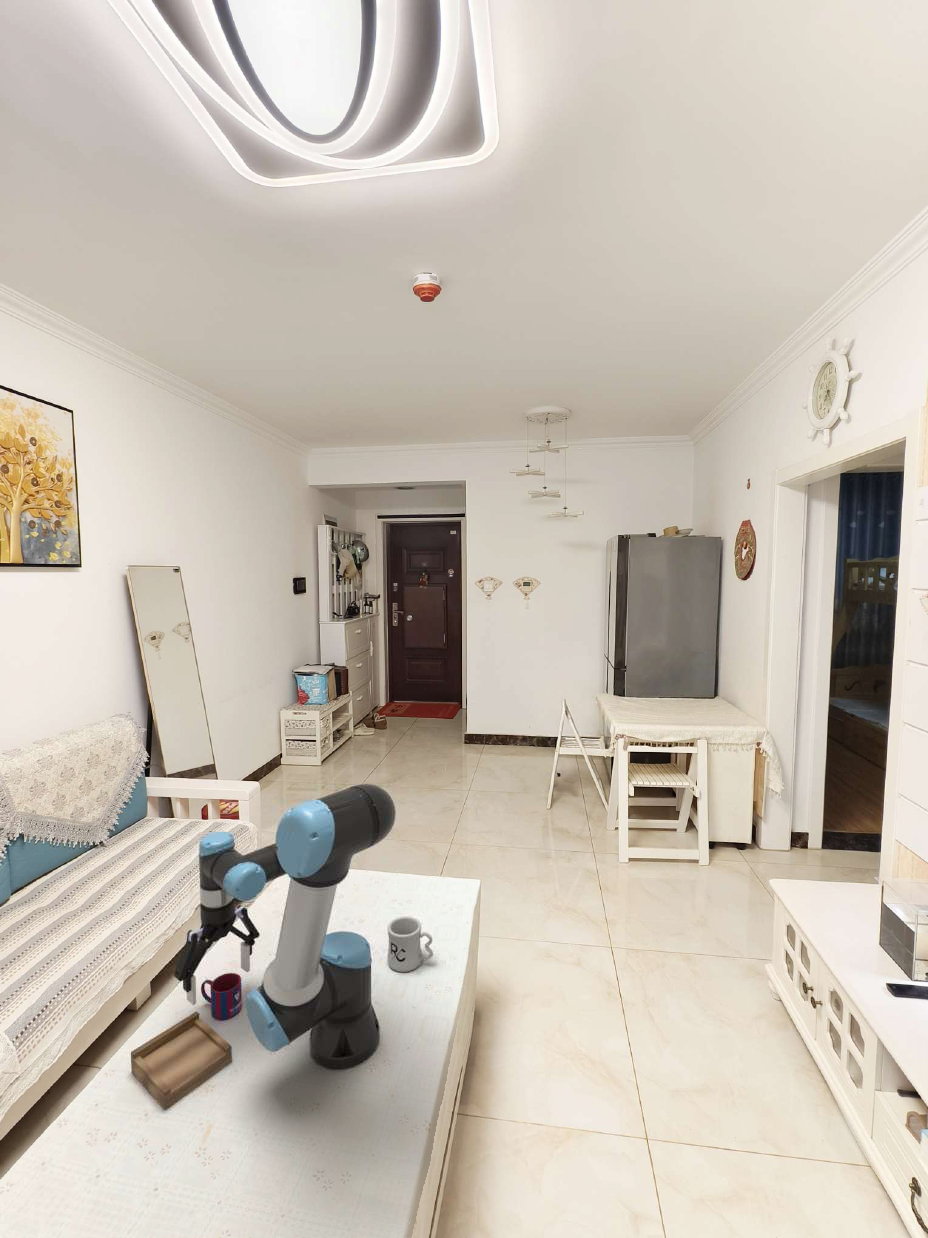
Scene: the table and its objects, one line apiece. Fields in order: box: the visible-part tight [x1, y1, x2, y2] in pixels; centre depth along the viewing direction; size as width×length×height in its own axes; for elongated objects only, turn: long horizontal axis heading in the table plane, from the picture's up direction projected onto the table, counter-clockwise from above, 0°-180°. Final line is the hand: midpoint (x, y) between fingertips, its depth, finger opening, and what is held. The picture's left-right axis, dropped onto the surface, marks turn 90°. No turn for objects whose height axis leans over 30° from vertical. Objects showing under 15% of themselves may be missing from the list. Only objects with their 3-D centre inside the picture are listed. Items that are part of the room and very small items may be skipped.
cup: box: [200, 972, 243, 1021], centre depth 138 cm, size 7×10×7 cm
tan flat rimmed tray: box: [130, 1011, 233, 1111], centre depth 121 cm, size 14×14×4 cm
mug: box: [386, 916, 434, 973], centre depth 154 cm, size 12×9×10 cm
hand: (219, 985), depth 138 cm, fingers open, 13 cm apart
